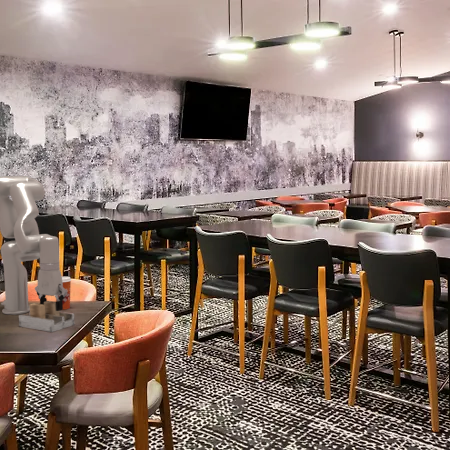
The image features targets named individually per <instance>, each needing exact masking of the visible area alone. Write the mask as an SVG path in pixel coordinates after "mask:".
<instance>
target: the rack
mask: <svg viewBox="0 0 450 450" xmlns="http://www.w3.org/2000/svg"><path fill="white" fill-rule="evenodd" d="M28 313H29V314H28V315H27V314H26V315H25V314H18V327H22V328H27V329H30V330H31V329H33V330H38V331H44V332H50V333H54V332H57V331H60V330H62V329H66V328H68V327H71V326H75V313H73V312H68V311H67V312H66V311H62V310H60V311H59V316H57V315H51V314H45V318H46V319H45V318H39V317H33V316H30V312H28Z"/></svg>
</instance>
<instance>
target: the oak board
mask: <svg viewBox="0 0 450 450" xmlns="http://www.w3.org/2000/svg"><path fill="white" fill-rule="evenodd" d="M29 306H30V314H29V316H33V317H39V318H45V305H42V304H40V303H30V304H29ZM45 319H46V318H45Z"/></svg>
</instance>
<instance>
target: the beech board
mask: <svg viewBox="0 0 450 450" xmlns="http://www.w3.org/2000/svg"><path fill="white" fill-rule="evenodd" d="M44 305H45V314H51V315H57V316H59V311H56V301H51V300H47V301H46V302H44Z"/></svg>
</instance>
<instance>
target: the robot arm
mask: <svg viewBox="0 0 450 450" xmlns="http://www.w3.org/2000/svg"><path fill="white" fill-rule="evenodd" d="M45 192H46V191H45V189H44V186H43V184H42V183H41V182H40V181H38V180H37V179H34V178H33V177H30V176H26V175H14V176H13V175H10V176H9V175H8V176H7V175H5V176H0V233H1V235H2V237H4V238H6V239H14V240H10V241H6V242H4V243H3V244H2V245H1V248H0V255H1V259H2V263H3V272H4V294H5V299H4V300H3V301H2V302H0V303H1V306H4V308H3V309H2V314H5V315H24V314H27V313H29V312H30V305H29V286H28V284H29V282H28V271H27V269H26V267H25V265H23V264H22V262H26V261H27V262H28V261H36V260H39V267H40V269H39V270H38V273H37V285H36V286H35V287H34V290H35V292H36V295H37V296H38V299H39V304H42V305H44V302H46V301H48V298H47V297H46V296H48V297H49V296H51V297H54V298H55V302H56V311H63V300H64V298H65V295H66V294H67V290H65V289H64V288H63V283H62V277H63V276H62V272H61V268H60V248H59V247H60V246H59V245H60V244H59V238H58V237H57V236H55V235H54V236H53V235H50V234H48V233H41V234H40V231H39V227H38V226H39V225H38V223H37V221H36V218H37V217H38V216H39V212H40V211H39V209H38V206H37V204H36V203H37V202H36V201H38V202H39V201H41V200H43V199H44V197H45V194H46V193H45ZM9 196H10V197H11V198H10V197H9ZM58 295H59V297H58ZM56 300H57V301H56Z"/></svg>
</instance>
